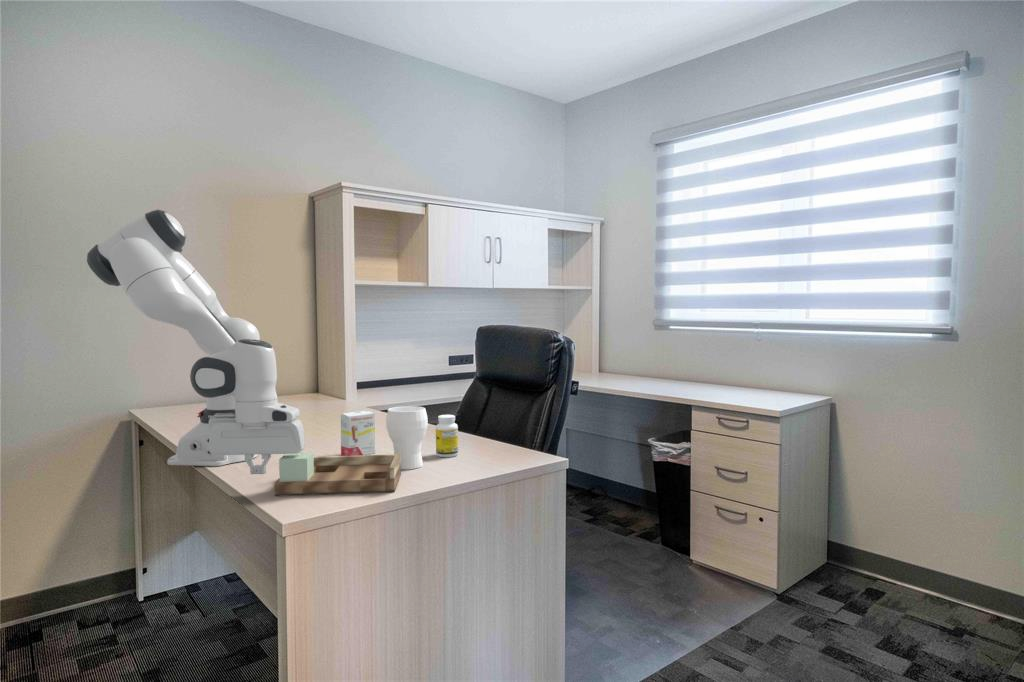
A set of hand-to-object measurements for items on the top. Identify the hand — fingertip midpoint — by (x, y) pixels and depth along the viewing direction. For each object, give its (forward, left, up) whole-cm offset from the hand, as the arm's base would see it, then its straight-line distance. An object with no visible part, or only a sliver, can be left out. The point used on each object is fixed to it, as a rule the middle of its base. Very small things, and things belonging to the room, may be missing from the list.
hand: (258, 473), depth 138 cm
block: (+8, 0, -1) cm, 8 cm away
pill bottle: (+41, +31, -5) cm, 52 cm away
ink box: (+16, +35, -5) cm, 39 cm away
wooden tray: (+17, +4, -4) cm, 18 cm away
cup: (+31, +20, -5) cm, 37 cm away
